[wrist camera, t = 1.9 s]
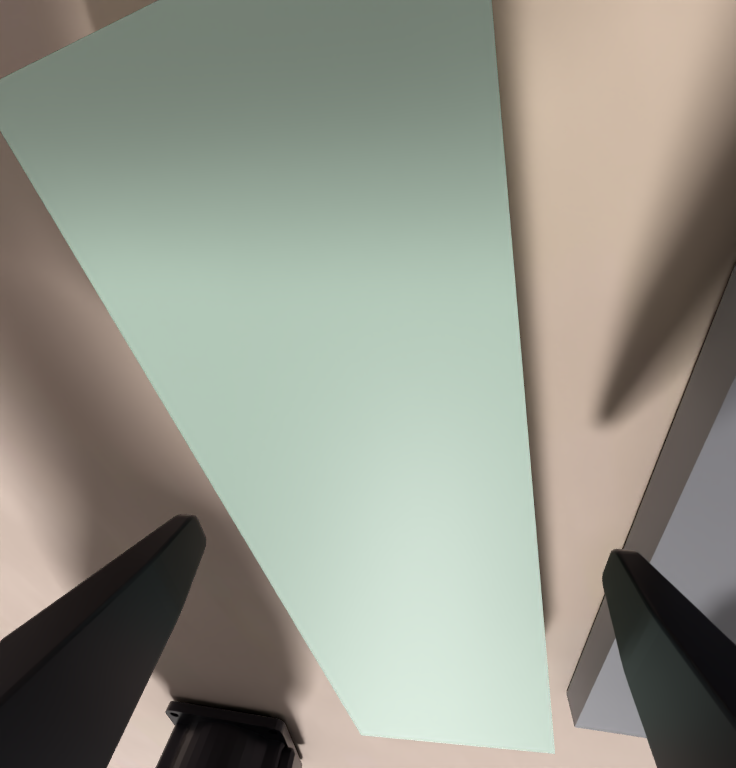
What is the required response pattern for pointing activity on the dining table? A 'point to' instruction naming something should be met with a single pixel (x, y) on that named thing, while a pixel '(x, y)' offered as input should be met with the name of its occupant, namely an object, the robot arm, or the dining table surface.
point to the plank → (324, 321)
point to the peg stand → (678, 526)
